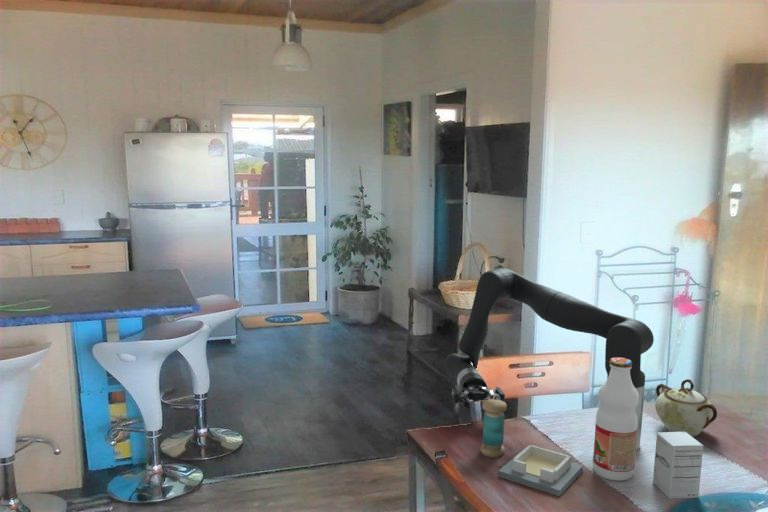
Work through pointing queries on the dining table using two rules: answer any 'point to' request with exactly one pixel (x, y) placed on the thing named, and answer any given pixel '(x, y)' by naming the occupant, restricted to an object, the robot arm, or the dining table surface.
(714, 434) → the dining table surface
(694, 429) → the sugar bowl
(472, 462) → the dining table surface
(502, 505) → the dining table surface
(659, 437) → the supplement box
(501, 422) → the spool
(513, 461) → the white grey square tray
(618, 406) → the fruit juice
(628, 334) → the robot arm
